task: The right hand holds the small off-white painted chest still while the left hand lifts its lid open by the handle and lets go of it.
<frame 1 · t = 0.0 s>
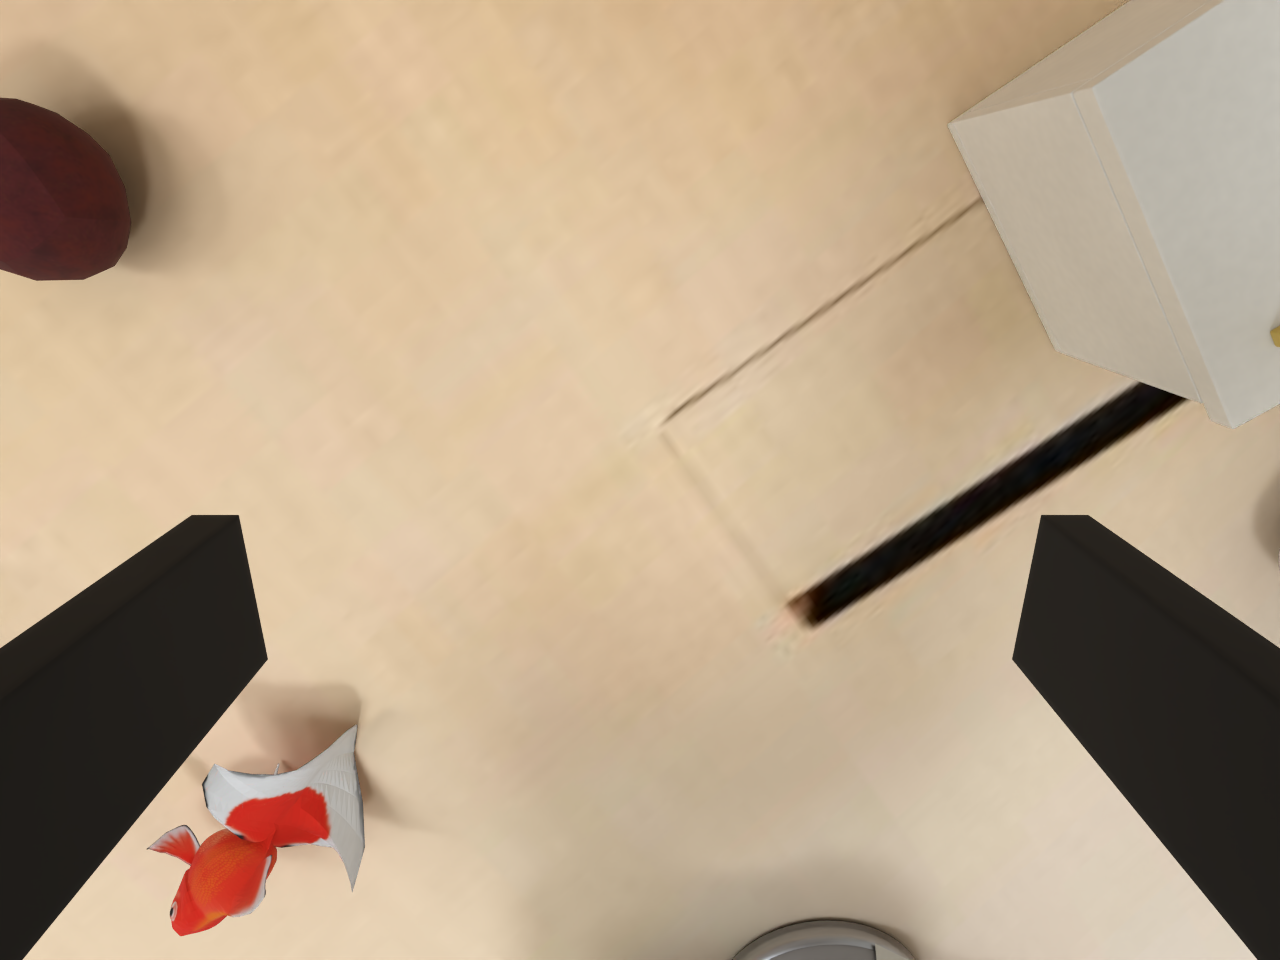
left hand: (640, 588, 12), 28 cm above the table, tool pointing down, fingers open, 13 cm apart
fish: (293, 778, 49), on the table
chest: (1097, 184, 36), on the table
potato: (89, 196, 37), on the table
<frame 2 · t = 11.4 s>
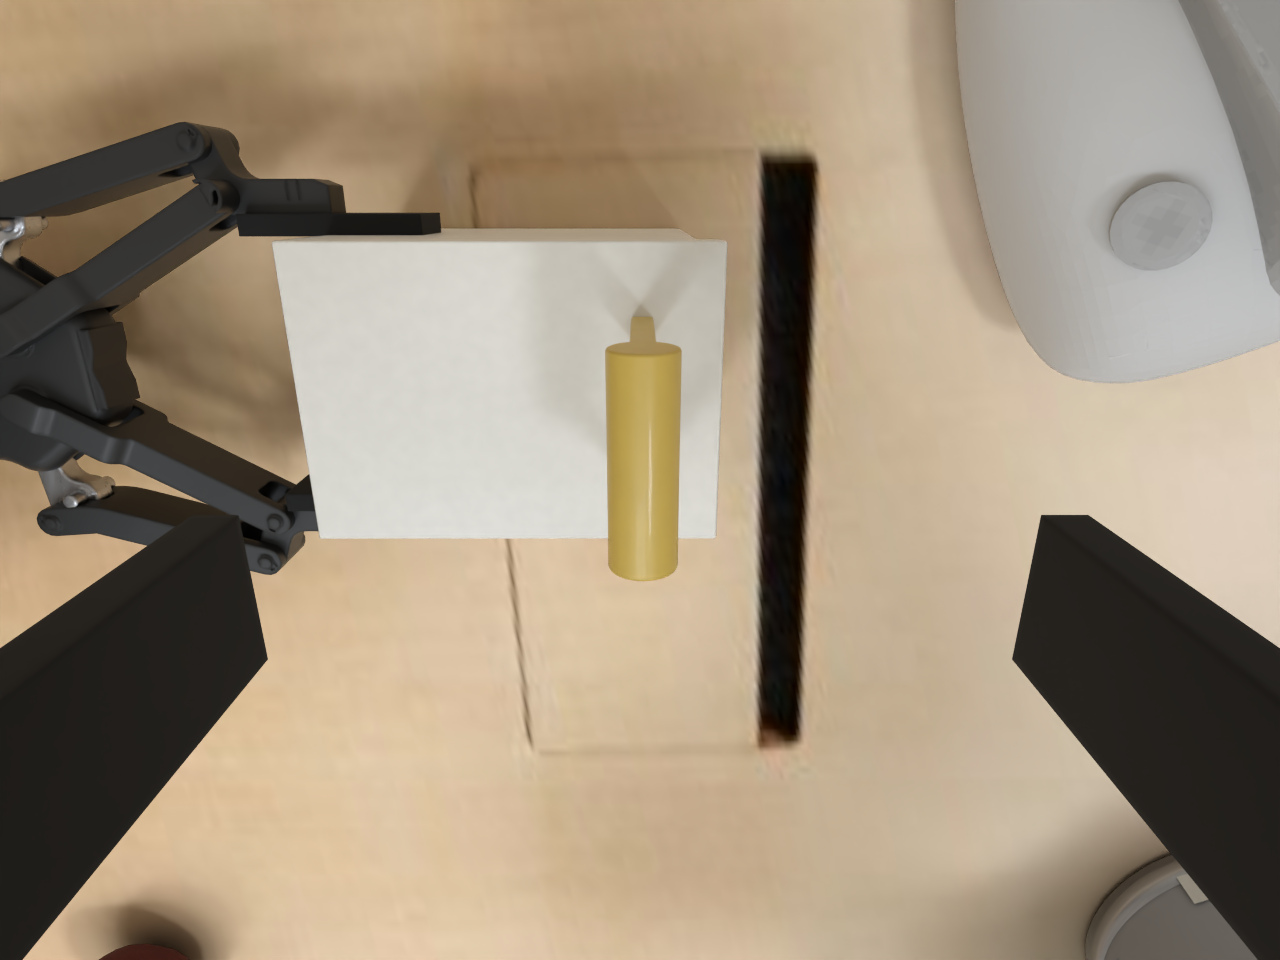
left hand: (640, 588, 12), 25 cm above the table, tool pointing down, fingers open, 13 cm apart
right hand: (444, 365, 30), fingers closed on chest, 10 cm apart
lid: (492, 425, 22), point 15 cm above the table, hinge at 0.0°
chest: (542, 337, 36), on the table, touching right hand
projector: (1107, 70, 32), on the table
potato: (167, 954, 50), on the table
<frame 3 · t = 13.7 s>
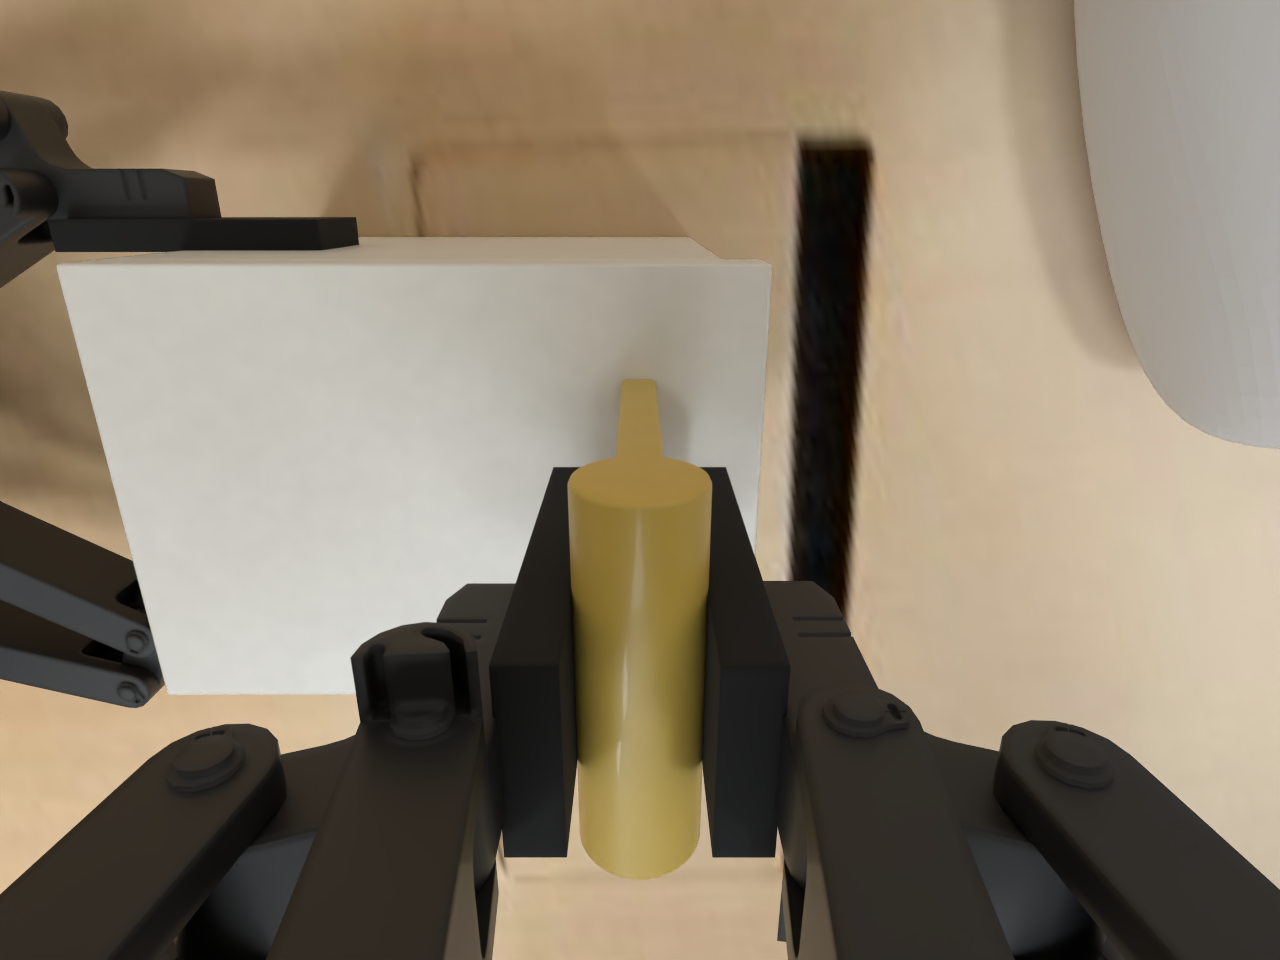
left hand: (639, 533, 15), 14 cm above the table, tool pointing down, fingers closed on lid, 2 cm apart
lid: (396, 564, 13), point 15 cm above the table, hinge at -0.1°, touching left hand
chest: (509, 378, 27), on the table, touching right hand
projector: (1267, 24, 24), on the table
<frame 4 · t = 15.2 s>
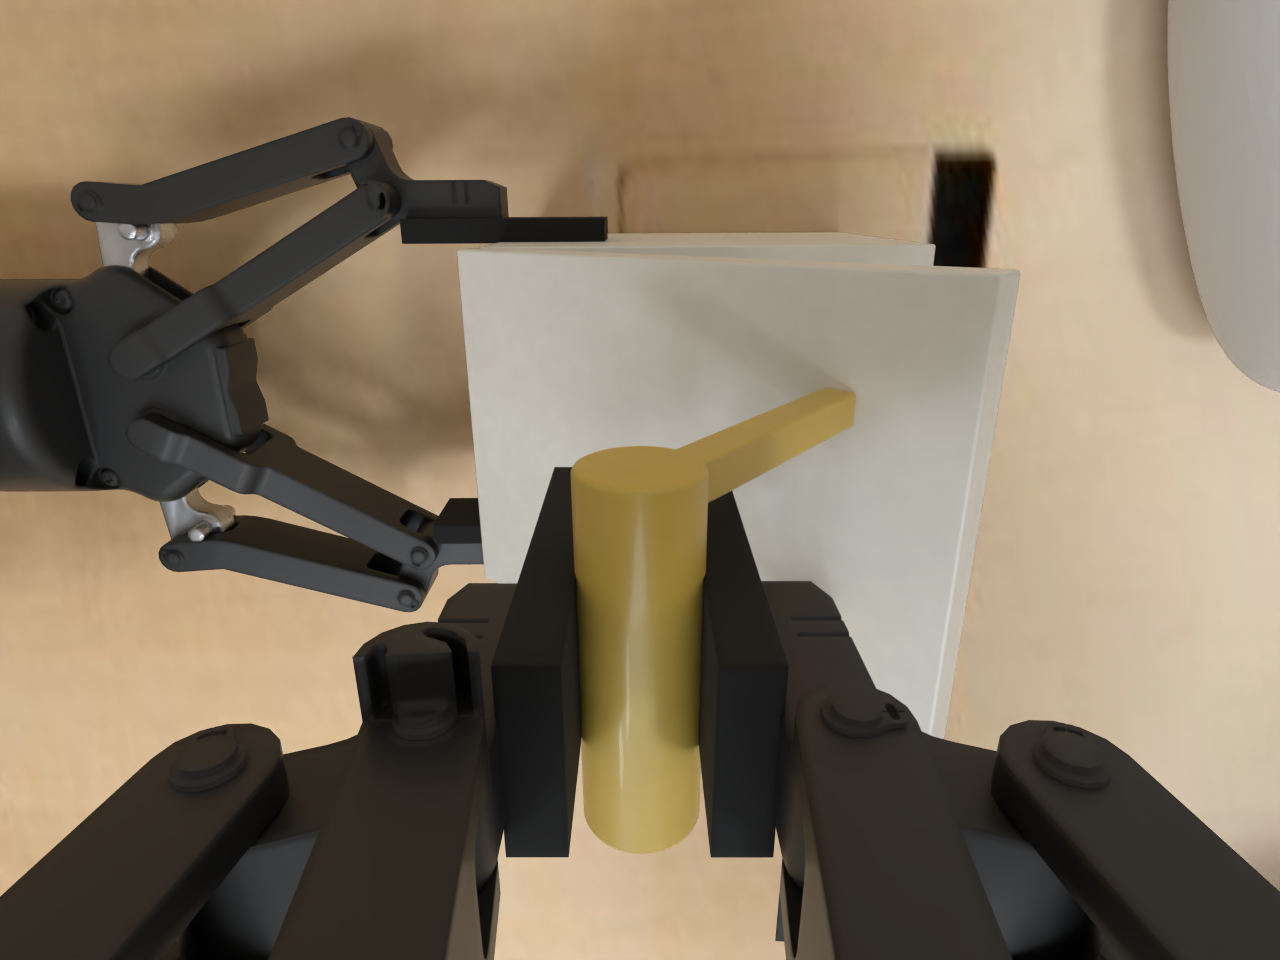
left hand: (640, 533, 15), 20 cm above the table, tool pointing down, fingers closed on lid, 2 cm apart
right hand: (609, 383, 27), fingers closed on chest, 10 cm apart
lid: (575, 512, 16), point 19 cm above the table, hinge at 38.5°, touching left hand
chest: (683, 350, 33), on the table, touching right hand
when the right hand's fingers open (7 cm above the table, at t = 21.1 s): chest stays where it is, on the table.
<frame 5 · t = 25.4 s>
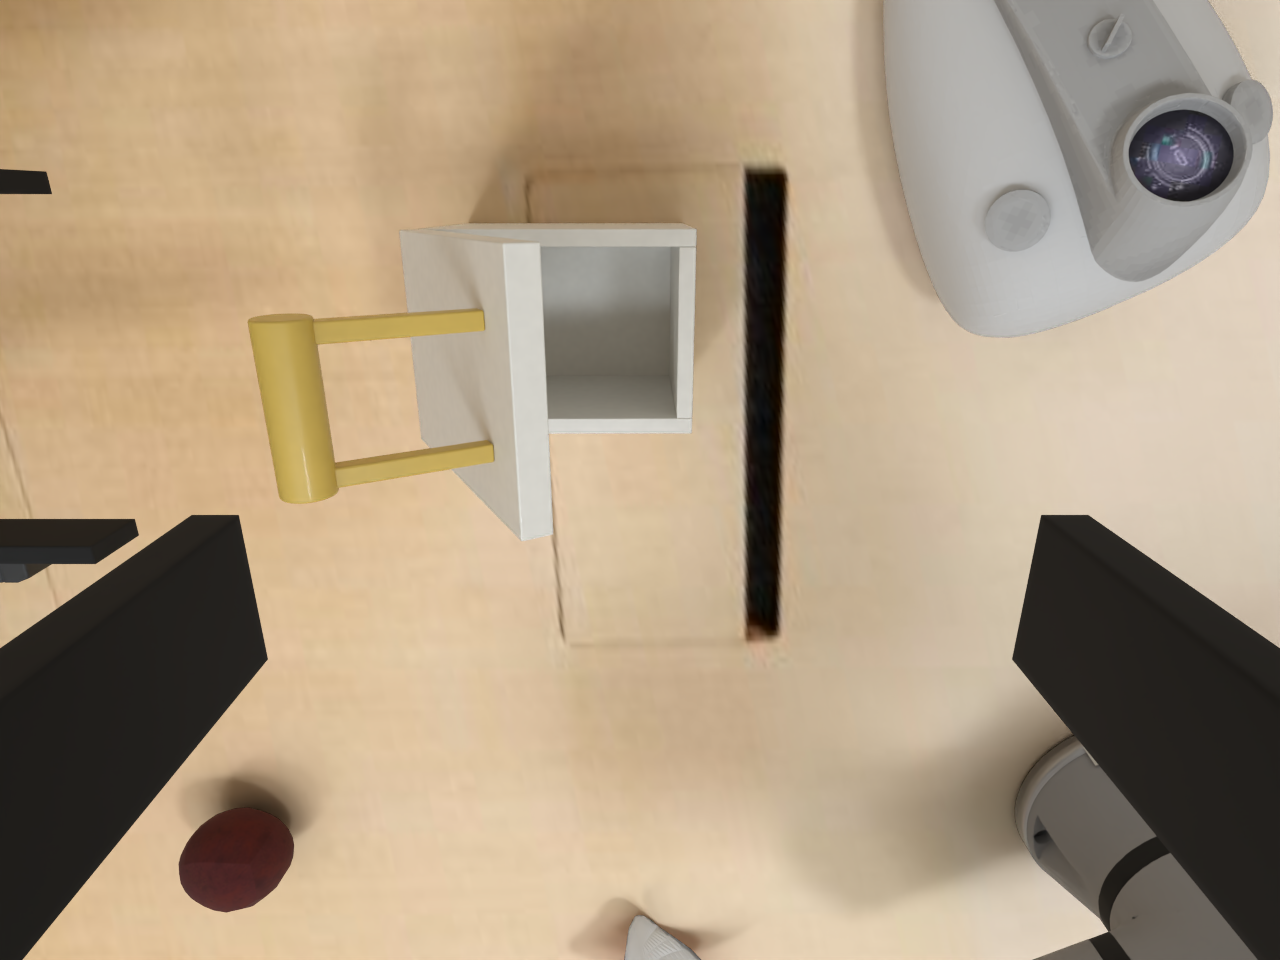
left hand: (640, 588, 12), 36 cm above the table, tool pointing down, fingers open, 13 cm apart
lid: (375, 373, 28), point 19 cm above the table, hinge at 60.7°
chest: (577, 307, 47), on the table
projector: (1002, 105, 43), on the table
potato: (261, 821, 61), on the table
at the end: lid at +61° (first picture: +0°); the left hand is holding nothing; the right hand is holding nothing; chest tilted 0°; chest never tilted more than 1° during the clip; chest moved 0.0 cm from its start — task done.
